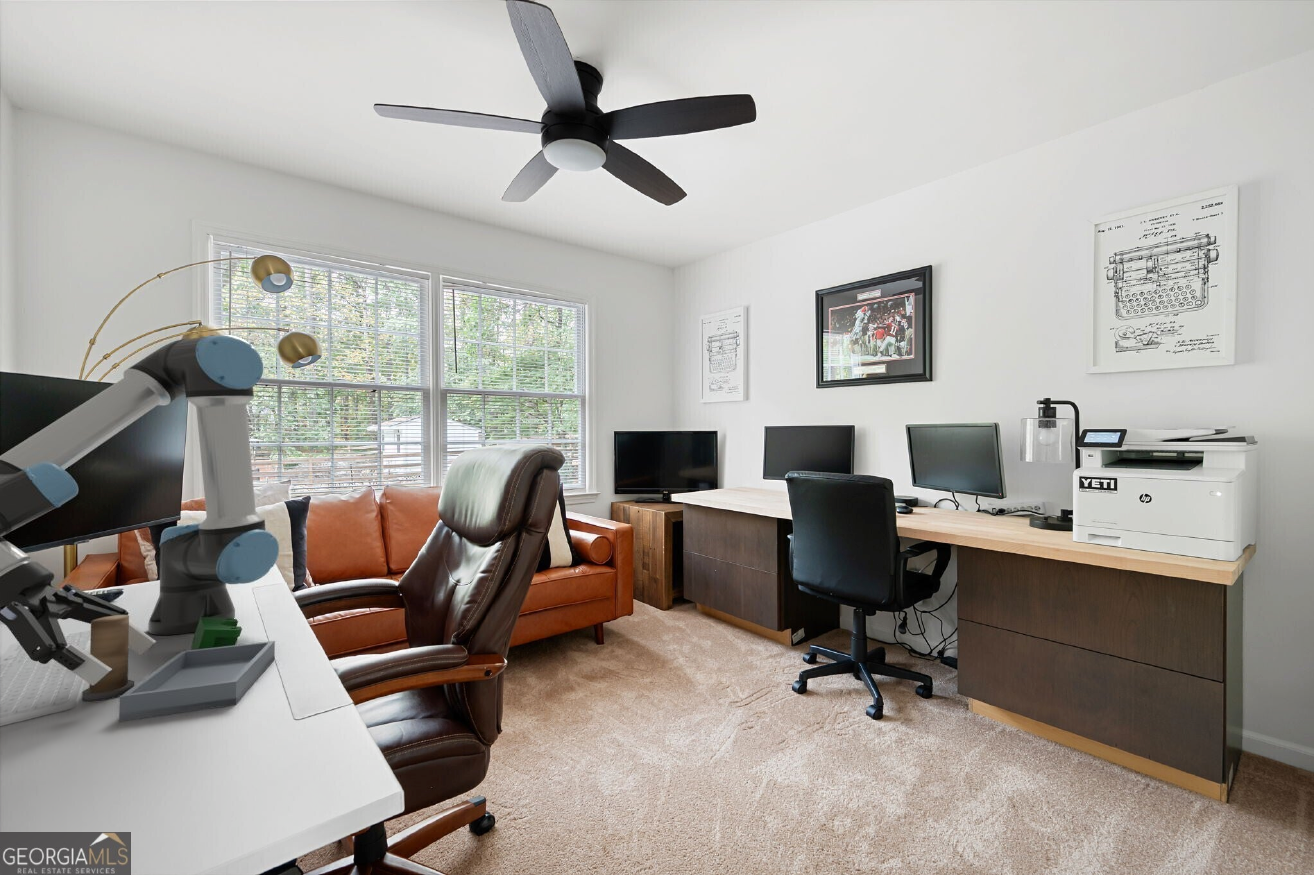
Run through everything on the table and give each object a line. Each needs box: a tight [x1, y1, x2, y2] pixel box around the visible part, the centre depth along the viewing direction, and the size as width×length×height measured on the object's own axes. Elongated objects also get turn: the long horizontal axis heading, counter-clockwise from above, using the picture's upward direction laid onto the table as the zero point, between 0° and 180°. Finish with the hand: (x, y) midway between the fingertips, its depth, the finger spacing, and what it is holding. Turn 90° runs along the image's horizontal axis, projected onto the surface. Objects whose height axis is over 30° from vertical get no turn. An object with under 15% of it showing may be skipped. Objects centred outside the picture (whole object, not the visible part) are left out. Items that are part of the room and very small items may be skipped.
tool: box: [81, 614, 135, 703], centre depth 89 cm, size 6×6×12 cm
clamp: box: [191, 617, 243, 650], centre depth 109 cm, size 12×6×9 cm, turn 37°
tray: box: [118, 640, 276, 722], centre depth 91 cm, size 20×14×4 cm
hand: (127, 661), depth 90 cm, fingers open, 13 cm apart
